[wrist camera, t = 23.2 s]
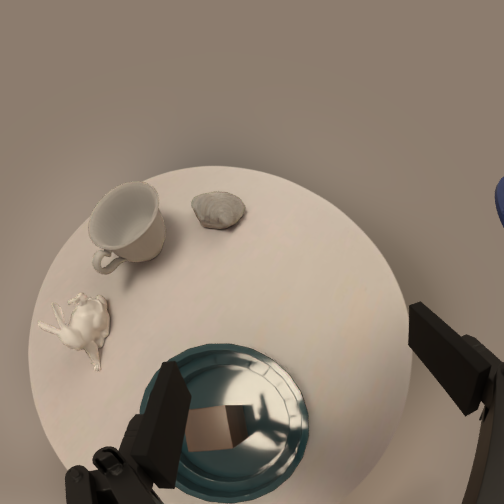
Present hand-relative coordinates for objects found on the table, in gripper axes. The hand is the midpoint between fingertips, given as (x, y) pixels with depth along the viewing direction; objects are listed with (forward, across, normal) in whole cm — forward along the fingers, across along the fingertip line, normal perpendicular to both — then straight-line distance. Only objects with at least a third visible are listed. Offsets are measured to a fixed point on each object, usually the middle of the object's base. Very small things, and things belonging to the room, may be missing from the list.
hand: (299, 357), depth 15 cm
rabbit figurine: (+25, -30, -8) cm, 40 cm away
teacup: (+34, -20, +1) cm, 39 cm away
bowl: (+14, -10, -19) cm, 26 cm away
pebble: (+37, -6, +3) cm, 38 cm away
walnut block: (+14, -10, -19) cm, 25 cm away
